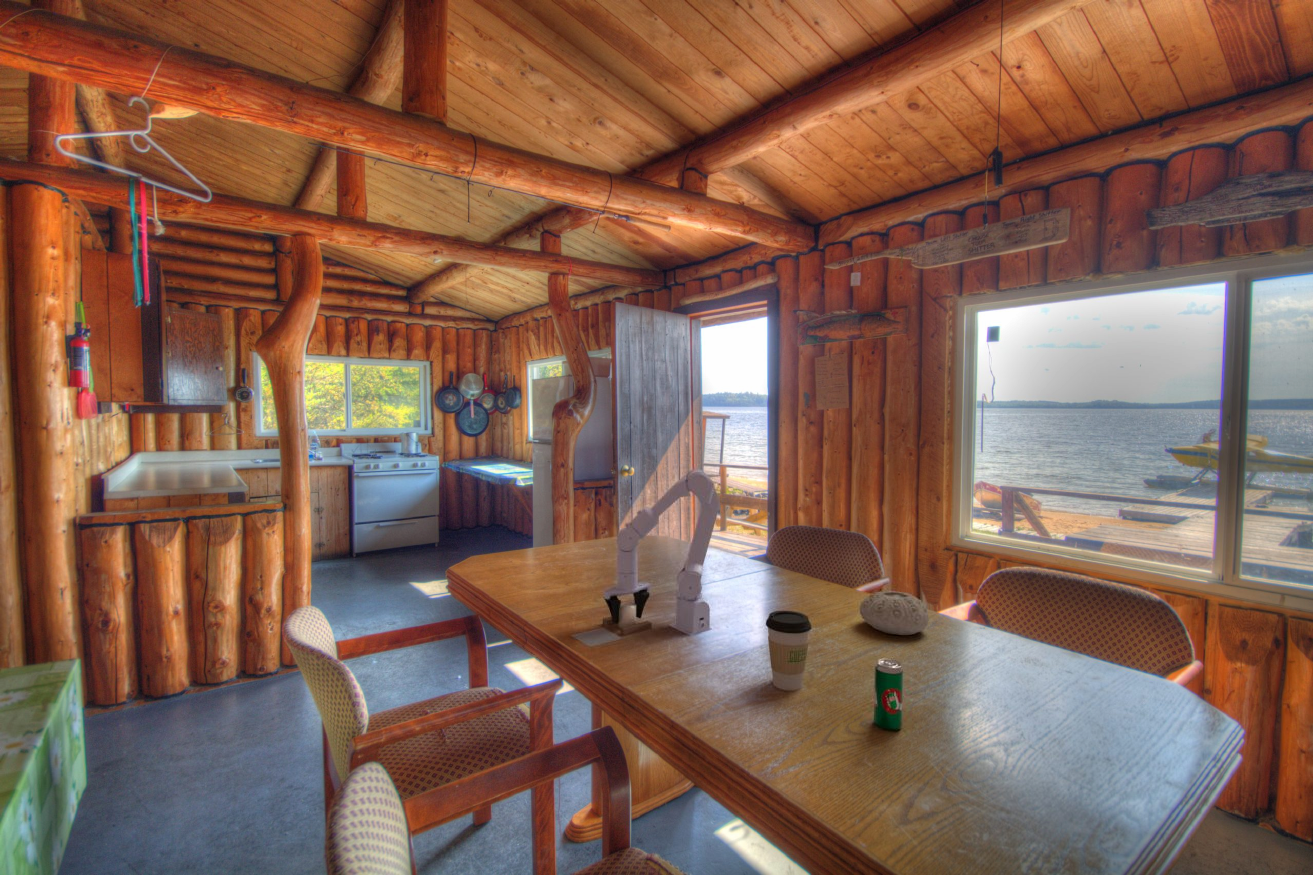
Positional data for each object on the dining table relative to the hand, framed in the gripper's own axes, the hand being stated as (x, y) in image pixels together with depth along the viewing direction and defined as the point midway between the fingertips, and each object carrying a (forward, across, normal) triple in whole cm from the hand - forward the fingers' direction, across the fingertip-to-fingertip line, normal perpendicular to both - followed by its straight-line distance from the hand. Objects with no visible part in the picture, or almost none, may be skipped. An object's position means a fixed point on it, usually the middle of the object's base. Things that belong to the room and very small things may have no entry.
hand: (627, 619), depth 165 cm
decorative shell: (+2, -60, +44) cm, 74 cm away
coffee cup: (+2, -9, +50) cm, 51 cm away
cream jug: (+2, 0, -1) cm, 2 cm away
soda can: (+2, -11, +73) cm, 74 cm away
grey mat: (+2, +11, +2) cm, 11 cm away
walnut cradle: (+2, 0, 0) cm, 2 cm away
